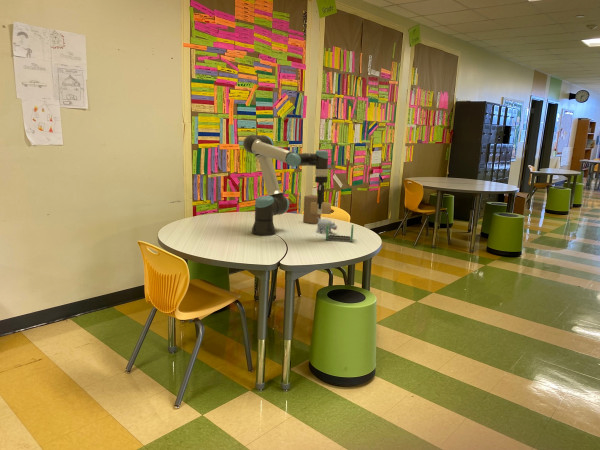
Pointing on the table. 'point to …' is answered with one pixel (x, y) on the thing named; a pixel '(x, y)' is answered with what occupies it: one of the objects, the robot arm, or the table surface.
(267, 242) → the table surface
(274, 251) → the table surface
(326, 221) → the hippopotamus toy
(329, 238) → the holder
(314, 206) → the cylinder
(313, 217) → the wooden block
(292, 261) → the table surface
